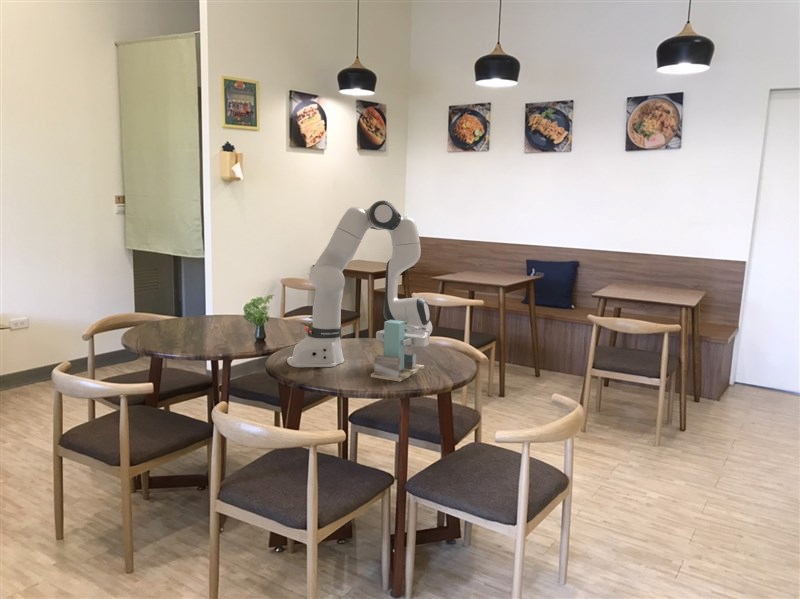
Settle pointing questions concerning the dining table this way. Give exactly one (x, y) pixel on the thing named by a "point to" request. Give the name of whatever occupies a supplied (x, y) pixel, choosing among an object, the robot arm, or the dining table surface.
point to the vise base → (402, 373)
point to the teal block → (394, 339)
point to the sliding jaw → (409, 360)
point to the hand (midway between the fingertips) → (393, 341)
